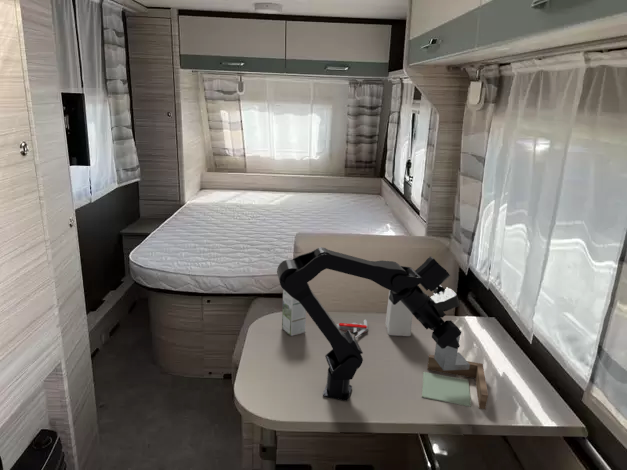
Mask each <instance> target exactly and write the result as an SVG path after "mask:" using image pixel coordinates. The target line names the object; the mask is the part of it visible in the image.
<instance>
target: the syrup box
mask: <svg viewBox="0 0 627 470" xmlns="http://www.w3.org/2000/svg"><path fill="white" fill-rule="evenodd" d="M281 313H282V314H281V315H282V316H281V317H282V318H281V330H283V331H284V332H285V333H286V334H288V335H289V336H291V337H292V336H296V335H300V334H304V333H306V327H307V326H306V325H307V324H306V323H307V322H306V321H307V320H306V319H307V311H306V310H305V309H304V307H303V306H302V305H301V303H300V302H299V301H297V300H296V299H294V298H293V297H291V296H290V295H289V294H288V293H287V292H286V291H285V290H284V289H283V288H282V312H281Z"/></svg>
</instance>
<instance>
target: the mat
mask: <svg viewBox="0 0 627 470" xmlns="http://www.w3.org/2000/svg"><path fill="white" fill-rule="evenodd" d="M421 388H422V389H421V392H422V393H421V398H425V399H429V400H433V401H438V402H439V401H440V402H446V403H450V404H455V405H460V406H466V407H471V406H472V404H471V403H472V402H471V395H470V394H471V393H470V383H469V379H466V378H460V377H454V376H449V375H444V374H437V373H433V372H426V371H423V375H422V387H421Z"/></svg>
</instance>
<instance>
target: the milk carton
mask: <svg viewBox="0 0 627 470" xmlns="http://www.w3.org/2000/svg"><path fill="white" fill-rule="evenodd" d="M390 291H391V290H389V289H388V298H387V307H386V315H385V323H384V326H385V329H386V333H387V335H388V336H398V337H411V333H412V325H413V317H414V315H413V314H412V313H411V312H410V311H409V310H408V308H407V307H406V306H405V305H404V304H403V303H402V302H401V301H399V302H398V303H397V304H396V305H393V303H392V302H391V301H390V299H389V296H390Z"/></svg>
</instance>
